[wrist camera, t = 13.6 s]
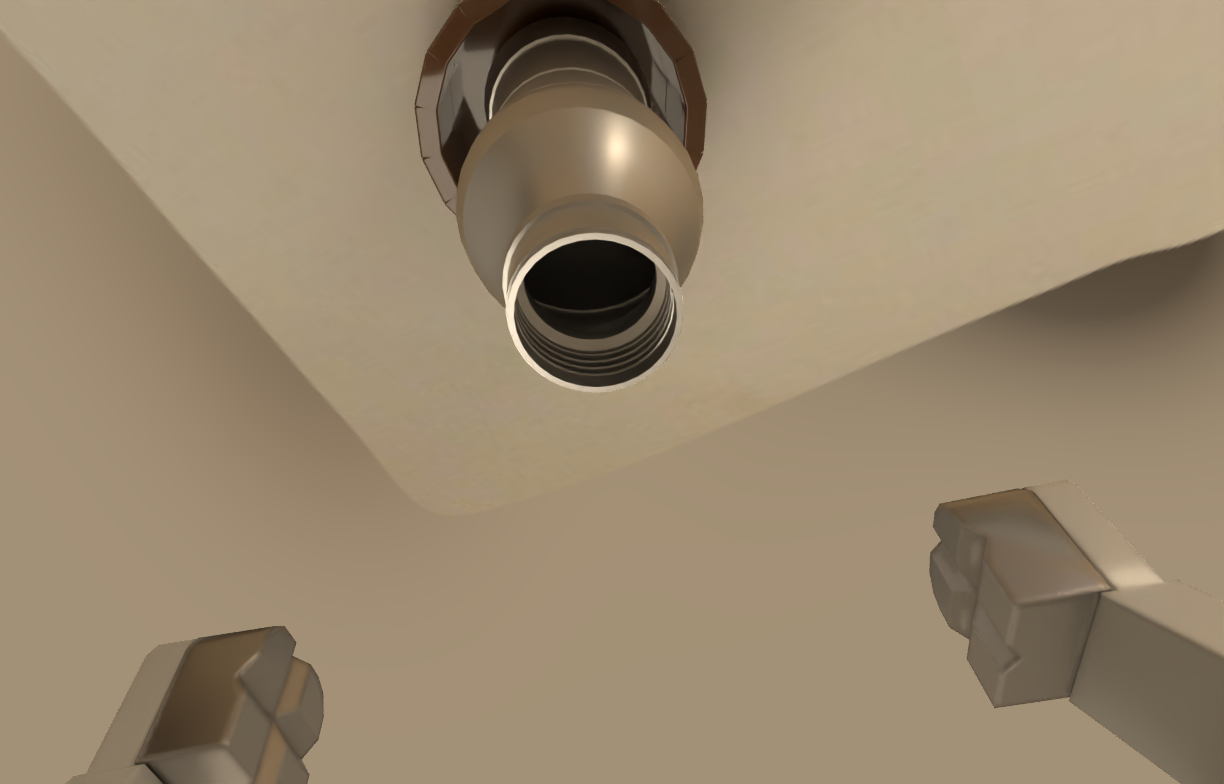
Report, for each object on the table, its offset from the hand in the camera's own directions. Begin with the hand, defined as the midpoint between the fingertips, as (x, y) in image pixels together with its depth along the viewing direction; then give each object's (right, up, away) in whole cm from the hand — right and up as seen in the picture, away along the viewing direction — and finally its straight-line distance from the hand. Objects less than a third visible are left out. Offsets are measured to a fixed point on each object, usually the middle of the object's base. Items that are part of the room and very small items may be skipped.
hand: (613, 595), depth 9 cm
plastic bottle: (-2, +15, +23) cm, 27 cm away
